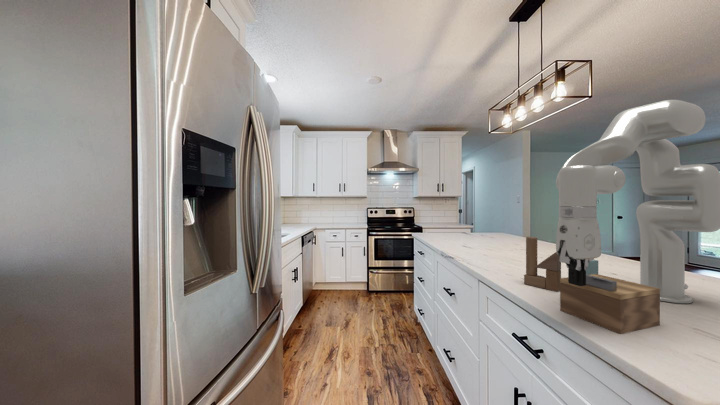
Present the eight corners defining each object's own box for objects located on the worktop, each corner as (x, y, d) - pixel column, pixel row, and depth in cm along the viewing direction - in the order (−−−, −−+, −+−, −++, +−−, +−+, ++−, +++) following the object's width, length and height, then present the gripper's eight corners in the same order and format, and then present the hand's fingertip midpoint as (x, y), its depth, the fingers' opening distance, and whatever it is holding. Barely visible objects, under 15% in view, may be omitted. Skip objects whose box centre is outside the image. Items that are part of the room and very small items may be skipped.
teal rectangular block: (598, 296, 86) (598, 260, 86) (589, 298, 85) (589, 261, 85) (584, 292, 90) (584, 258, 90) (576, 294, 89) (576, 258, 89)
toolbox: (596, 304, 80) (596, 278, 80) (659, 325, 66) (659, 293, 66) (560, 310, 76) (560, 282, 75) (620, 333, 62) (620, 300, 62)
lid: (596, 277, 80) (596, 266, 80) (659, 293, 66) (659, 279, 66) (560, 282, 75) (560, 270, 75) (620, 300, 62) (620, 284, 62)
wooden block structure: (557, 292, 91) (557, 240, 90) (523, 284, 99) (523, 236, 99) (561, 290, 93) (561, 239, 93) (528, 282, 101) (528, 236, 101)
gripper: (571, 215, 62) (571, 292, 62) (614, 213, 66) (614, 286, 66) (541, 213, 69) (541, 282, 69) (581, 212, 73) (581, 277, 73)
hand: (576, 284), depth 68 cm, fingers closed
